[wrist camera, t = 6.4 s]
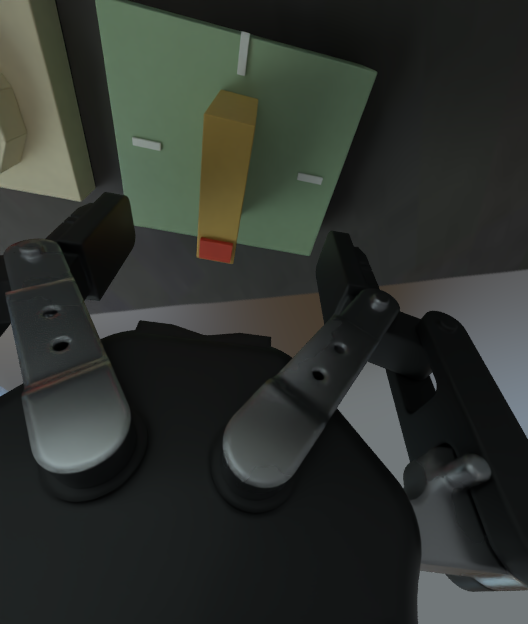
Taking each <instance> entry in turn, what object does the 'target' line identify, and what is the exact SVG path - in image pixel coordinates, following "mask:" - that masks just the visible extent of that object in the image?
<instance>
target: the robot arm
mask: <svg viewBox="0 0 528 624" xmlns="http://www.w3.org/2000/svg"><path fill="white" fill-rule="evenodd" d="M134 244H135V229H134V223H133V217H132V211H131V205H130V200H129V198H128V197H127V196H126V195H120V194H114V193H108V192H105V193H103V194H102V195H101V196H100V197H99V198H98V199H97V200H96V201H95V202H94V203H89V204H87V205H84V206H82V207H80V208H78V209H77V210H76V211H74V212H73V213H72V214H71V217H68V218H67V219H66V220H65V221H64V223H62V224H61V225H59V226H58V227H57V228H56V229H55V230H54V231H53V232H52V233H51V234H50V235H49V236H48V237H47V238H46V239H28V240H23V241H20V242H17V243H15V244H13V245H11V246H9V247H8V248H7V249H6V250H5V252H4V254H3V255H0V337H1V335H2V334H3V333H4V332H5V330H6V329H7V328H8V326H9V325H10V324H11V325H12V330H13V335H14V339H15V344H16V349H17V354H18V359H19V364H20V368H21V373H22V377H23V384H22V385H20V386H18V387H16V388H14V389H13V390H11V391H9V392H7V393H6V394H4V395H2V396H0V624H418V619H417V617H418V616H417V593H418V580H419V573H420V571H427V572H435V573H443V574H446V575H447V576H448V578H449V579H450V580H451V581H452V582H453V583H455V584H456V585H457V586H459V587H460V588H462V589H464V590H467V591H472V592H475V591H516V590H517V591H520V590H528V439H527V437H526V435H525V433H524V432H523V430H522V428H521V426H520V425H519V423H518V421H517V419H516V418H515V416H514V414H513V412H512V411H511V409H510V407H509V405H508V403H507V402H506V400H505V399H504V396H503V395H502V393H501V391H500V389H499V388H498V386H497V384H496V382H495V381H494V379H493V377H492V375H491V374H490V372H489V370H488V368H487V367H486V365H485V363H484V361H483V360H482V358H481V356H480V354H479V353H478V351H477V349H476V347H475V345H474V344H473V342H472V340H471V339H470V337H469V335H468V333H467V331H466V330H465V328H464V327H463V326H462V325H461V323H459V322H458V321H457V320H456V319H454V318H453V317H451V316H450V315H447V314H445V313H442V312H439V311H429V312H427V313H426V314H425V315H424V316H423V318H422V319H419V318H416V317H413V316H411V315H408V314H405V313H403V312H400V307H399V304H398V302H397V301H396V300H395V299H394V298H393V297H392V296H391V295H390V294H388V293H386V292H384V291H382V290H380V289H379V286H378V284H377V281H376V279H375V277H374V274H373V272H372V271H371V270H372V269H371V267H370V265H369V262H368V259H367V257H366V255H365V254H364V253H363V252H362V251H361V250H360V249H359V248H358V247H354V246H353V243H352V241H351V238H350V235H349V234H348V233H342V232H336V231H330V232H329V233H328V235H327V238H326V241H325V244H324V246H323V249H322V252H321V255H320V257H319V260H318V263H317V267H316V279H317V285H318V291H319V296H320V302H321V308H322V314H323V319H324V326H323V327H322V328H321V329H320V330H319V331H318V332H317V333H316V334H315V335H314V336H313V337H312V338H311V339H310V340H309V342H307V343H306V345H305V346H304V347H303V348H302V349H301V350H300V351H299V352H298V353H297V354H296V355H295V356H294V357H293V358H292V357H290V356H289V355H287V354H286V353H284V352H282V351H280V350H278V349H276V348H273V347H271V337H267V336H259V335H252V334H243V333H234V334H222V335H221V334H220V335H202V334H199V333H196V332H193V331H190V330H187V329H185V328H182V327H179V326H176V325H172V324H165V323H157V322H149V321H141V320H140V321H139V323H138V325H137V327H136V330H131V331H126V332H120V333H117V334H113V335H110V336H107V337H105V338H103V339H100V338H99V336H98V333H97V331H96V329H95V326H94V324H93V322H92V319H91V317H90V314H89V312H88V310H87V307H86V305H85V303H84V301H85V299H88V300H96V301H100V299H101V298H102V296H103V295H104V293H105V292H106V290H107V288H108V287H109V285H110V284H111V282H112V280H113V279H114V277H115V276H116V274H117V273H118V271H119V269H120V268H121V266H122V265H123V263H124V261H125V260H126V258H127V257H128V255H129V253H130V252H131V250H132V249H133V247H134ZM367 361H368V362H370V363H373V364H375V365H378V366H380V367H383V368H385V369H386V373H387V376H388V380H389V384H390V388H391V392H392V395H393V399H394V403H395V407H396V411H397V414H398V418H399V422H400V426H401V429H402V433H403V437H404V441H405V445H406V448H407V452H408V456H409V460H410V463H409V464H408V465H407V466H406V468H405V470H404V474H403V481H404V488H402V486H401V485H400V483H399V482H398V481H397V479H396V478H395V477H394V476H393V474H392V473H391V472H390V471H389V470H388V469H387V468H386V466H385V465H384V464H383V463H382V461H381V460H380V459H379V458H378V457H377V455H376V454H375V453H374V452H373V451H372V449H371V448H370V447H369V446H368V445H367V444H366V443H365V441H364V440H363V439H362V438H361V437H360V435H359V434H358V433H357V432H356V430H355V429H354V428H353V427H352V426H351V424H350V423H349V422H348V421H347V420H346V419H345V417H344V416H343V415H342V414H341V413H340V411H339V410H338V409H337V407H338V405H339V404H340V402H341V401H342V399H343V398H344V396H345V395H346V393H347V392H348V390H349V389H350V387H351V386H352V384H353V382H354V381H355V380H356V378H357V377H358V375H359V373H360V372H361V370H362V369H363V367H364V366H365V364H366V363H367ZM432 372H433V375H434V377H435V380H436V383H437V390H436V391H435V388H434V386H433V383H432V381H431V378H430V376H429V375H430V374H431V373H432Z"/></svg>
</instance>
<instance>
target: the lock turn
mask: <svg viewBox="0 0 528 624" xmlns="http://www.w3.org/2000/svg"><path fill="white" fill-rule="evenodd" d="M257 109H258V99H256V98H252V97H248V96H244V95H240V94H236V93H233V92H229V91H225V90H220V91H219V93H218V94H217V96H216V97H215V99H214V100H213V101H212V103H211V104H210V106H209V107H208V109H207V110H206V112H205V113H204V119H203V139H202V158H201V178H200V197H199V217H198V236H197V256H196V257H197V258H202V259H208V260H213V261H219V262H225V263H230V264H233V262H234V256H235V250H236V244H237V238H238V231H239V225H240V219H241V213H242V207H243V201H244V195H245V188H246V182H247V176H248V170H249V164H250V158H251V152H252V146H253V139H254V133H255V127H256V118H257Z"/></svg>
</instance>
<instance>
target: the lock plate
mask: <svg viewBox="0 0 528 624" xmlns="http://www.w3.org/2000/svg"><path fill="white" fill-rule="evenodd" d="M95 3H96V9H97V16H98V23H99V29H100V36H101V43H102V49H103V56H104V63H105V70H106V76H107V83H108V90H109V96H110V103H111V110H112V116H113V123H114V130H115V137H116V143H117V150H118V157H119V163H120V170H121V177H122V183H123V190H124V195H126V196H127V197H128V198H129V200H130V205H131V211H132V217H133V223H134V225H135V226H141V227H147V228H153V229H158V230H164V231H170V232H175V233H181V234H187V235H192V236H198V217H199V197H200V178H201V158H202V139H203V119H204V113H205V112H206V110H207V109H208V107H209V106H210V104H211V103H212V101H213V100H214V99H215V97H216V96H217V94H218V93H219V91H220V90H225V91H229V92H233V93H236V94H240V95H244V96H248V97H252V98H256V99H258V109H257V118H256V127H255V133H254V139H253V146H252V152H251V158H250V164H249V170H248V176H247V182H246V188H245V195H244V201H243V207H242V213H241V219H240V225H239V231H238V238H237V243H238V244H244V245H250V246H255V247H261V248H267V249H272V250H278V251H284V252H290V253H295V254H301V255H307V256H310V254H311V251H312V248H313V246H314V243H315V240H316V238H317V235H318V232H319V229H320V227H321V224H322V221H323V219H324V216H325V213H326V211H327V208H328V205H329V202H330V200H331V197H332V194H333V192H334V189H335V186H336V184H337V181H338V178H339V175H340V173H341V170H342V167H343V165H344V162H345V159H346V157H347V154H348V151H349V148H350V146H351V143H352V140H353V138H354V135H355V132H356V130H357V127H358V124H359V121H360V119H361V116H362V113H363V111H364V108H365V105H366V103H367V100H368V97H369V94H370V92H371V89H372V86H373V84H374V81H375V78H376V76H377V71H375V70H373V69H370V68H368V67H366V66H364V65H361V64H357V63H354V62H350V61H346V60H343V59H339V58H336V57H332V56H328V55H325V54H321V53H317V52H314V51H310V50H306V49H303V48H299V47H296V46H292V45H288V44H285V43H281V42H277V41H274V40H270V39H266V38H263V37H259V36H256V35H252V34H250V33H247V32H243V31H237V30H234V29H230V28H226V27H223V26H219V25H216V24H212V23H208V22H205V21H201V20H197V19H194V18H190V17H186V16H183V15H179V14H175V13H172V12H168V11H165V10H161V9H157V8H154V7H150V6H146V5H143V4H139V3H135V2H132V1H128V0H95Z"/></svg>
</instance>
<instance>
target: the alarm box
mask: <svg viewBox="0 0 528 624" xmlns="http://www.w3.org/2000/svg"><path fill="white" fill-rule="evenodd" d="M0 187H2V188H8V189H13V190H19V191H24V192H30V193H35V194H41V195H46V196H52V197H57V198H63V199H69V200H74V201H80V202H81V201H83V200H84V199H85V198H86V197H87V196H88V195H89V194H90V193H91V192H92V191H93V190H94V189H95V188H96V187H95V182H94V178H93V173H92V168H91V164H90V159H89V155H88V150H87V145H86V141H85V136H84V132H83V127H82V122H81V118H80V113H79V108H78V104H77V99H76V95H75V90H74V85H73V81H72V76H71V72H70V67H69V62H68V58H67V53H66V48H65V44H64V39H63V35H62V30H61V25H60V21H59V16H58V12H57V7H56V2H55V0H0Z"/></svg>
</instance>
